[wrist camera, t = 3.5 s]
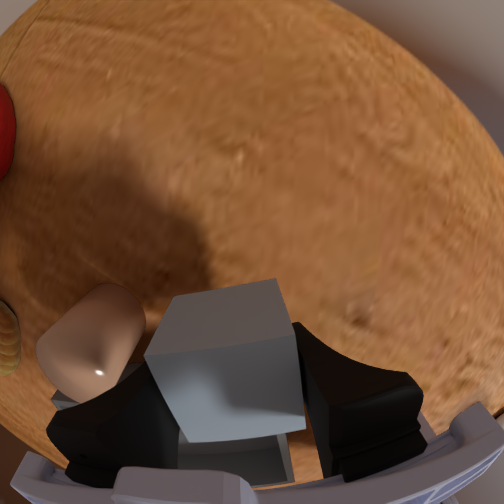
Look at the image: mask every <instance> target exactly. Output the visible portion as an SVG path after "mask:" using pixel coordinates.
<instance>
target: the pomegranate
mask: <svg viewBox="0 0 504 504" xmlns="http://www.w3.org/2000/svg"><path fill="white" fill-rule="evenodd" d="M15 134H16V121H15V116H14V111H13V104H12V101H11V99H10V97H9V95H8V93H7V91H6V89H5V87H4V86H2V85H1V84H0V180H1V179H2V178H3V177H4V176H5V174H6V173H7V171H8V170H9V168H10V166H11V163H12V159H13V154H14V143H15Z"/></svg>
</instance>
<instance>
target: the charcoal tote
mask: <svg viewBox="0 0 504 504" xmlns="http://www.w3.org/2000/svg"><path fill="white" fill-rule="evenodd" d="M142 364H143V363H128V364H126V366H125V368H124V370H123V372H122V374H121V376H120V378H119V379H118V381H117V383H116V385H117V384H118V383H120V382H121V381H123V380H124V379H125V378H126V377H128V376H129V375H130V374H131V373H132V372H134V371H135V370H136V369H137V368H138V367H139V366H141V365H142ZM51 401H52V402H53V404H54V405H55V406H56V408H57V409H58V411H59V410H63V409H66V408H69V407H73V406H76V405H78V404H81V403H79V402H77V401H75V400H73V399H71V398H69V397H68V396H66V395H65V394H63V393H62V392H61V391H59V390H58V389H57V391H56V392H55V394H54V395H53V397H52V398H51ZM177 467H178V470H216V471H225V472H228V473H232V474H236V475H238V476H240V477H241V478H243V479H244V480H245V481H247V482H248V483H249V485H250V487H251V488H258V487H266V486H274V485H281V484H287V483H293V482H295V479H294V474H293V468H292V463H291V457H290V452H289V446H288V441H287V436H286V433H282V434H276V435H270V436H263V437H256V438H248V439H239V440H228V441H215V442H191V443H189V441H188V440H187V438H186V436H185V435H184V433H183V431H182V430H181V428H180V432H179V443H178V465H177Z"/></svg>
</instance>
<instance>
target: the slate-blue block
mask: <svg viewBox="0 0 504 504" xmlns="http://www.w3.org/2000/svg"><path fill="white" fill-rule="evenodd" d="M144 358H145V360H146V362H147V364H148V366H149V369H150V371H151V373H152V375H153V377H154V379H155V381H156V383H157V385H158V387H159V389H160V391H161V393H162V395H163V397H164V399H165V401H166V403H167V405H168V407H169V408H170V410H171V412H172V414H173V416H174V417H175V419H176V421H177V423H178V424H179V426H180V428H181V430H182V431H183V433H184V435H185V436H186V438H187V440H188V441H189V443H191V442H215V441H228V440H239V439H248V438H256V437H263V436H270V435H276V434H282V433H287V432H293V431H298V430H302V429H306V422H305V413H304V403H303V394H302V385H301V376H300V368H299V360H298V352H297V344H296V336H295V332H294V329H293V326H292V323H291V320H290V317H289V315H288V312H287V309H286V306H285V303H284V300H283V297H282V294H281V292H280V289H279V286H278V283H277V280H276V278H274V279H269V280H264V281H259V282H253V283H248V284H242V285H237V286H231V287H226V288H220V289H214V290H208V291H203V292H197V293H191V294H185V295H179V296H174V297H173V299H172V301H171V303H170V305H169V307H168V309H167V310H166V312H165V314H164V316H163V318H162V320H161V322H160V324H159V326H158V328H157V330H156V332H155V334H154V336H153V338H152V340H151V342H150V344H149V346H148V348H147V350H146V352H145V354H144Z"/></svg>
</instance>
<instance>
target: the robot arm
mask: <svg viewBox="0 0 504 504" xmlns="http://www.w3.org/2000/svg"><path fill="white" fill-rule="evenodd" d="M292 326H293V329H294V332H295V336H296V344H297V352H298V360H299V368H300V376H301V385H302V394H303V401H304V403H305V406H306V408H307V411H308V414H309V417H310V421H311V425H312V429H313V433H314V437H315V441H316V446H317V450H318V454H319V459H320V463H321V468H322V472H323V477H324V479H321V480H317V481H312V482H308V483H303V484H298V485H292V486H286V487H280V488H273V489H265V490H252V488H251V487H250V485H249V483H248V482H247V481H245V480H244V479H243V478H241V477H240V476H238V475H236V474H232V473H228V472H225V471H216V470H178V467H177V465H178V443H179V432H180V426H179V424H178V423H177V421H176V419H175V417H174V416H173V414H172V412H171V410H170V408H169V407H168V405H167V403H166V401H165V399H164V397H163V395H162V393H161V391H160V389H159V387H158V385H157V383H156V381H155V379H154V377H153V375H152V373H151V371H150V369H149V366H148V364H147V362H146V361H145V362H144V363H143V364H142V365H141V366H139V367H138V368H137V369H136V370H135V371H134V372H132V373H131V374H130V375H129V376H128V377H126V378H125V379H124V380H123V381H121V382H120V383H118V384H117V385H115V386H114V387H112V388H111V389H109V390H107V391H106V392H104V393H102V394H100V395H99V396H97V397H95V398H93V399H90V400H88V401H86V402H84V403H81V404H78V405H76V406H73V407H69V408H66V409H63V410H59V411H57V412H56V413H55V415H54V417H53V418H52V420H51V422H50V423H49V425H48V427H47V428H46V432H47V435H48V437H49V439H50V441H51V442H52V443H53V444H54V445H55V447H56V448H57V449H58V450H59V451H60V452H61V453H62V454H63V455H64V456H65V457H66V458H67V459H68V460H69V461H70V462H69V464H68V466H67V468H66V470H65V471H63V470H60V469H57V468H55V467H54V466H53V465H52V463H51V462H49V461H48V460H47V459H46V458H44V457H43V456H41V455H38V454H35V453H33V452H30V451H27V453H26V455H25V457H24V459H23V461H22V462H21V464H20V466H19V468H18V469H17V471H16V473H15V475H14V477H13V479H12V481H11V483H10V485H11V486H12V487H13V488H14V489H15V490H16V491H18V492H19V493H20V494H21V495H23V496H24V497H25V498H26V499H28V500H29V501H30V502H31V503H33V504H459V503H458V501H457V499H456V498H455V496H454V493H455V492H457V491H458V490H460V489H462V488H463V487H464V486H466V485H467V484H469V483H470V482H472V481H473V480H475V479H476V478H477V477H479V476H480V475H481V474H483V473H484V472H485V471H486V470H487V469H488V467H489V466H490V465H491V464H492V463H493V461H494V460H495V459H496V458H497V457H498V456H499V454H500V453H501V452H502V451H503V449H504V430H503V428H502V427H501V426H500V425H499V424H498V422H497V421H496V420H495V419H494V418H493V416H492V415H491V414H490V413H489V412H488V410H487V409H486V408H485V407H484V406H483V405H482V404H481V402H477V403H475V404H474V405H472V406H471V407H469V408H467V409H466V410H464V411H463V412H461V413H459V414H458V415H457V416H456V417H455V418H454V419H453V420H452V422H451V424H450V427H449V429H448V430H447V431H445V432H443V433H441V434H439V435H436V434H435V432H434V431H433V429H432V428H431V426H430V425H429V423H428V422H427V420H426V419H425V417H424V416H423V414H422V413H421V411H420V409H421V406H422V403H423V397H424V395H423V391H422V390H421V388H420V387H419V386H418V384H417V383H416V382H415V381H414V379H413V378H412V377H411V376H410V375H409V374H408V373H407V372H400V371H392V370H385V369H381V368H377V367H373V366H369V365H366V364H363V363H360V362H357V361H355V360H352V359H350V358H348V357H346V356H344V355H342V354H340V353H338V352H336V351H335V350H333V349H331V348H330V347H328V346H327V345H326V344H324V343H323V342H321V341H320V340H319V339H318V338H316V337H315V336H314V335H313V334H312V333H310V332H309V331H308V330H307V329H306V328H305V327H304V326H303V325H302V324H301V323H300V322H295V323H292Z"/></svg>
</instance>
